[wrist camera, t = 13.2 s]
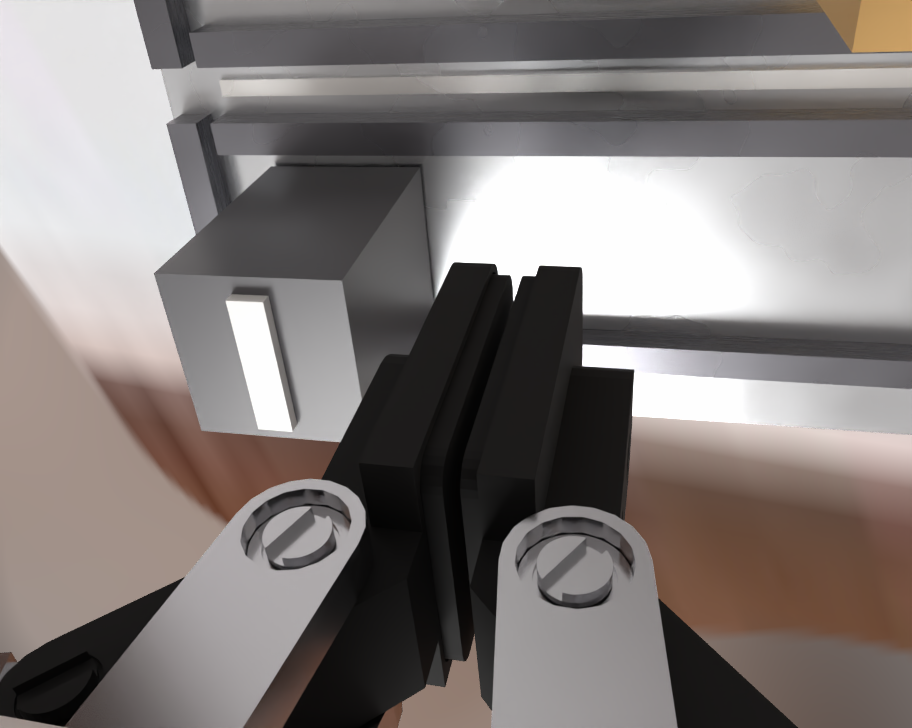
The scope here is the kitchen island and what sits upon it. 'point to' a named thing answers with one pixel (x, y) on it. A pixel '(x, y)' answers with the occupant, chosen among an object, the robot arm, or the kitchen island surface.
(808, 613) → the kitchen island surface
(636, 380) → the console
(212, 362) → the fader
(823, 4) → the fader
